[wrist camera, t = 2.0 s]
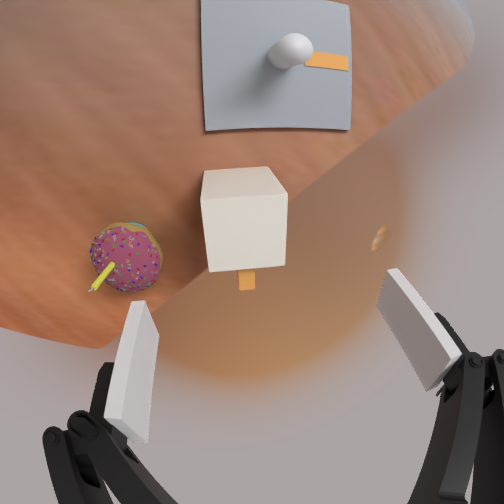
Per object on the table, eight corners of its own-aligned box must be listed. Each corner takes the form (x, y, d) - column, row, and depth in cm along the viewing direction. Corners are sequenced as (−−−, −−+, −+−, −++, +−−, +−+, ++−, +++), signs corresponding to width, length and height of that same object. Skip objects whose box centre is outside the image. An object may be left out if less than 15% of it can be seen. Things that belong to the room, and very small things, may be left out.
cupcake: (93, 242, 31) (56, 303, 21) (126, 192, 29) (86, 246, 19) (145, 277, 35) (127, 346, 25) (182, 235, 32) (170, 302, 22)
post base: (205, 130, 26) (203, 138, 21) (201, -4, 18) (198, -26, 13) (348, 129, 28) (374, 138, 23) (347, 6, 19) (372, -7, 14)
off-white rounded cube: (204, 170, 29) (200, 200, 21) (267, 166, 29) (287, 193, 22) (212, 252, 34) (213, 300, 27) (267, 247, 35) (283, 293, 27)
